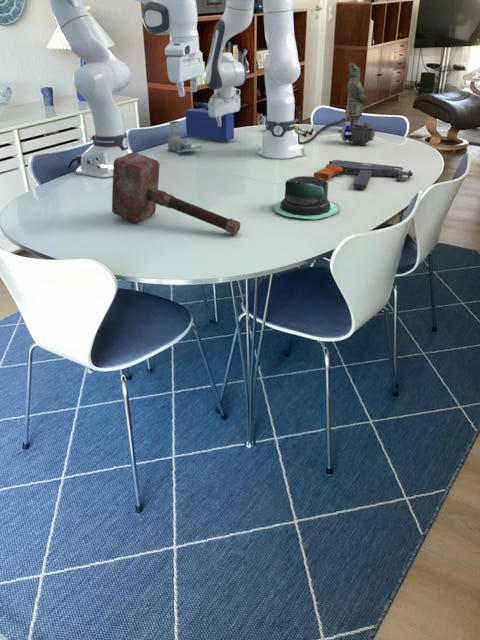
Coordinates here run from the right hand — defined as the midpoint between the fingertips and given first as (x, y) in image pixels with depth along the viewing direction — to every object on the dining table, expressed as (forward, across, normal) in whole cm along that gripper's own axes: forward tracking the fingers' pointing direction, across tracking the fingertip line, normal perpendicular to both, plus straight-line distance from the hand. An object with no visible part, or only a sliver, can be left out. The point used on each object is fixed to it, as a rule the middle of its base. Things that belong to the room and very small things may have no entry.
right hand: (225, 124), depth 252 cm
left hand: (-23, -63, -31) cm, 74 cm away
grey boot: (+8, -25, +5) cm, 27 cm away
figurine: (+7, +28, -17) cm, 34 cm away
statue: (+7, +48, -42) cm, 65 cm away
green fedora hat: (+8, -63, -76) cm, 99 cm away
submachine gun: (+8, -26, -78) cm, 82 cm away
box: (+6, 0, +9) cm, 11 cm away
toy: (+7, +24, -54) cm, 59 cm away
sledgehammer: (+8, -95, -50) cm, 108 cm away
